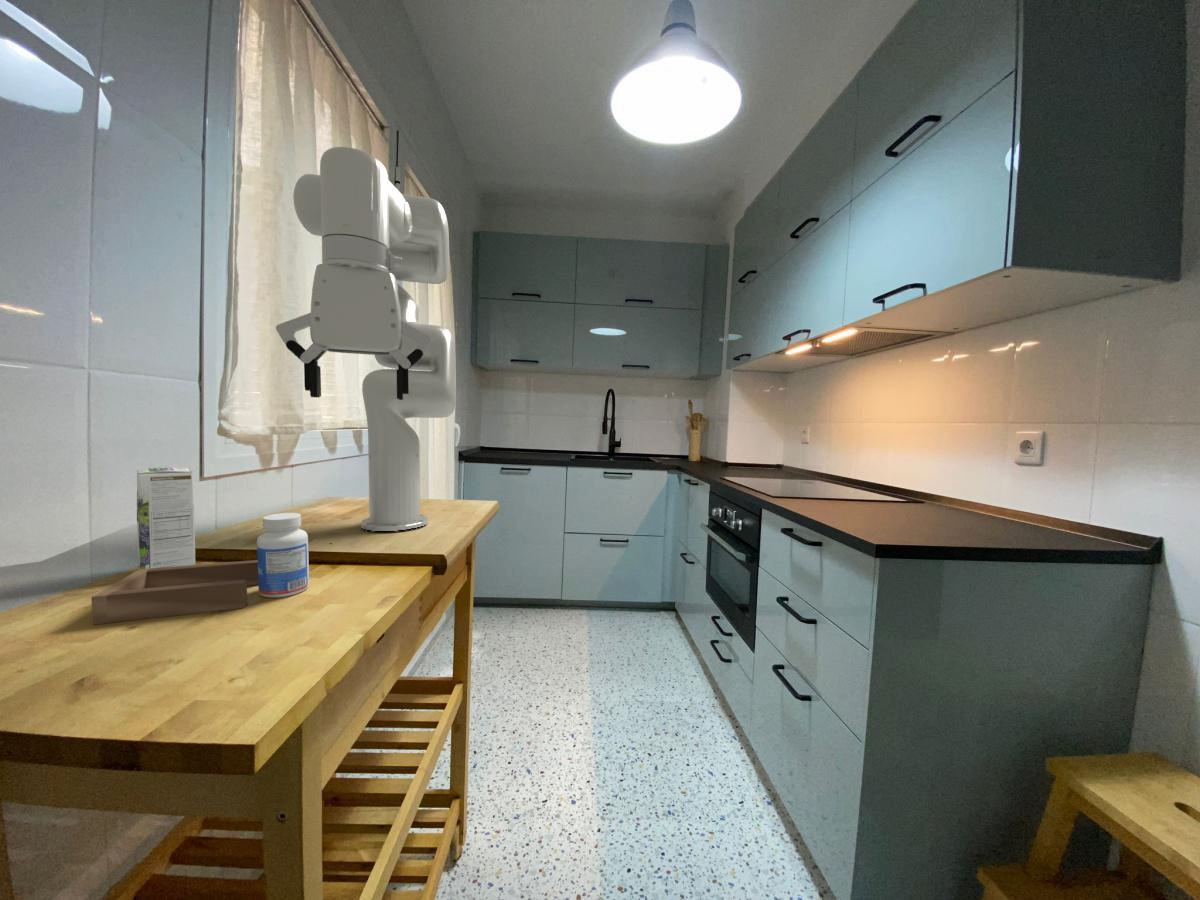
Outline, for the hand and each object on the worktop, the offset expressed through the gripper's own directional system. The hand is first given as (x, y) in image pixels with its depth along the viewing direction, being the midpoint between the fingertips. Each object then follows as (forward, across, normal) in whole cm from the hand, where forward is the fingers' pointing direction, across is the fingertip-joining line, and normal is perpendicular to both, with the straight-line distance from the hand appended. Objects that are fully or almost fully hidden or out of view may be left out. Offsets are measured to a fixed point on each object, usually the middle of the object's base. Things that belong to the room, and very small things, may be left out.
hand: (359, 398), depth 60 cm
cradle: (+25, +18, -2) cm, 31 cm away
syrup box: (+25, +26, -16) cm, 39 cm away
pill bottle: (+25, +9, -2) cm, 27 cm away
